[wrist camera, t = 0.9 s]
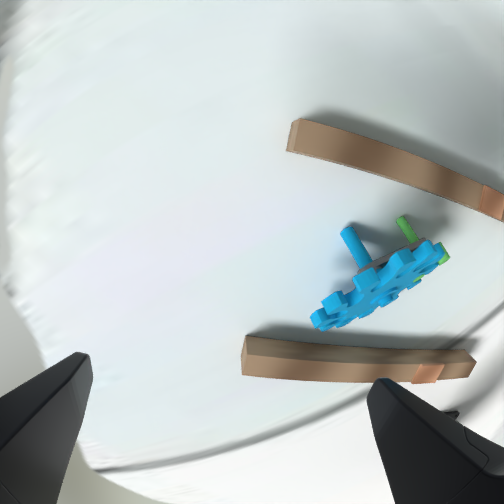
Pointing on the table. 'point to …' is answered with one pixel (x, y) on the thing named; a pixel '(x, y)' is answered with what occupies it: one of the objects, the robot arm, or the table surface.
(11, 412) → the robot arm
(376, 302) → the gear
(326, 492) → the table surface
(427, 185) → the guide channel
